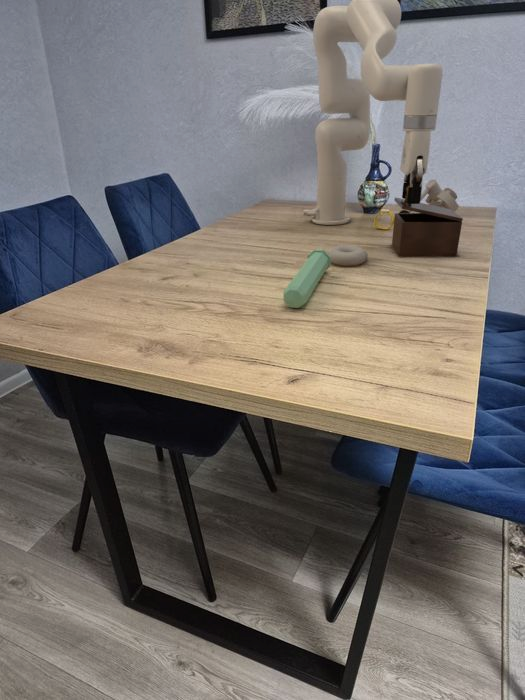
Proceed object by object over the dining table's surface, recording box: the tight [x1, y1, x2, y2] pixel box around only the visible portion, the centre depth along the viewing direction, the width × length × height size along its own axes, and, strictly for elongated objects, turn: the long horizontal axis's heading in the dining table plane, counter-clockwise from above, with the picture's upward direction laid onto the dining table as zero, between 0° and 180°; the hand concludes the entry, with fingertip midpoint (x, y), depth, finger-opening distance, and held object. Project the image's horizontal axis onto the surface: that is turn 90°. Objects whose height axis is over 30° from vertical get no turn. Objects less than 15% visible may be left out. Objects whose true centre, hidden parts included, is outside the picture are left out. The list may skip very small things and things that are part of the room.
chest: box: [391, 212, 463, 258], centre depth 125 cm, size 15×12×9 cm
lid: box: [393, 186, 464, 223], centre depth 121 cm, size 15×12×5 cm
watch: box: [373, 208, 395, 231], centre depth 148 cm, size 6×3×6 cm, turn 62°
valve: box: [398, 179, 460, 213], centre depth 158 cm, size 10×20×15 cm
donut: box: [327, 244, 368, 267], centre depth 120 cm, size 10×4×10 cm
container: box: [282, 248, 332, 309], centre depth 103 cm, size 6×6×25 cm
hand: (410, 200), depth 121 cm, fingers closed on lid, 6 cm apart
